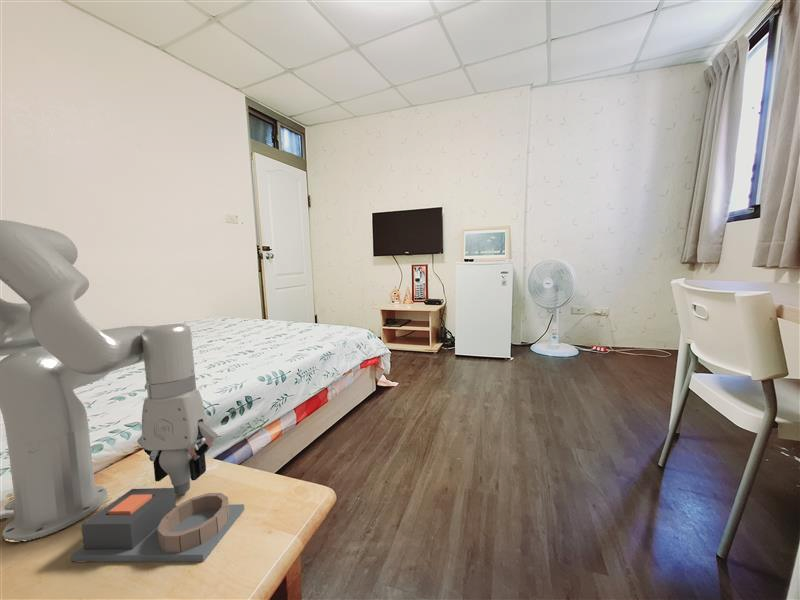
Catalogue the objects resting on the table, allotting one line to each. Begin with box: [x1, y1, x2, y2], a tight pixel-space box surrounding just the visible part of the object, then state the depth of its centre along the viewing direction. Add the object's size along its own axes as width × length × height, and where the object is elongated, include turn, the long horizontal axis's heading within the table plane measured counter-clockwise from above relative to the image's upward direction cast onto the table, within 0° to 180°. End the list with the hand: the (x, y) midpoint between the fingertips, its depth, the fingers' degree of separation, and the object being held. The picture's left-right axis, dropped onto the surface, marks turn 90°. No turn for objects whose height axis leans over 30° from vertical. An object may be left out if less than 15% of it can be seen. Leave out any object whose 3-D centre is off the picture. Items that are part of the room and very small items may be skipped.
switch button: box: [108, 494, 152, 515], centre depth 49 cm, size 4×4×4 cm
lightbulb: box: [159, 444, 199, 496], centre depth 58 cm, size 6×6×11 cm
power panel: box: [70, 487, 245, 563], centre depth 48 cm, size 21×10×5 cm, turn 87°
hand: (181, 475), depth 58 cm, fingers open, 6 cm apart
